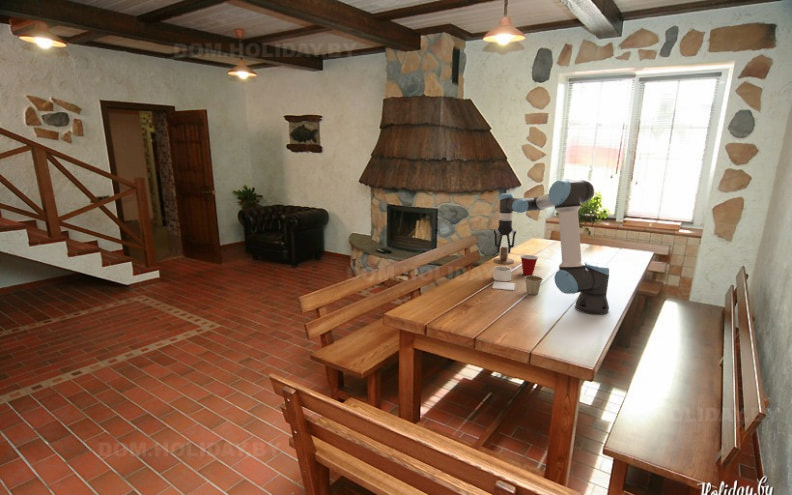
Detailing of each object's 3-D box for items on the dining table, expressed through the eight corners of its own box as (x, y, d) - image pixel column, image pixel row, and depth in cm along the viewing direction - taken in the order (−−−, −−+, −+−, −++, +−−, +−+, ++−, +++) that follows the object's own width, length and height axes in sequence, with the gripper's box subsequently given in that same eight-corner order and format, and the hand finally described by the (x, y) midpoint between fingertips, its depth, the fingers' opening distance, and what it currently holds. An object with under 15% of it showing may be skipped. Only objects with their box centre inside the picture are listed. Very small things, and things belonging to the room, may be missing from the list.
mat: (515, 284, 245) (515, 283, 245) (514, 290, 234) (514, 289, 234) (494, 282, 248) (494, 281, 248) (492, 288, 237) (492, 287, 237)
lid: (514, 260, 255) (515, 245, 253) (513, 265, 244) (514, 250, 242) (494, 259, 259) (494, 244, 257) (492, 264, 248) (493, 249, 246)
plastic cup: (539, 273, 264) (540, 255, 262) (534, 278, 256) (535, 259, 253) (522, 270, 270) (523, 253, 267) (516, 275, 262) (518, 256, 259)
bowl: (511, 277, 258) (511, 266, 256) (510, 282, 248) (511, 271, 247) (494, 275, 261) (494, 265, 259) (492, 280, 251) (493, 270, 250)
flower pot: (544, 292, 230) (545, 278, 228) (536, 297, 224) (538, 282, 221) (528, 289, 236) (529, 274, 234) (520, 293, 230) (521, 278, 228)
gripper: (520, 219, 247) (518, 257, 252) (491, 218, 252) (490, 255, 257) (520, 221, 240) (517, 260, 245) (490, 220, 245) (489, 258, 250)
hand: (503, 258), depth 251 cm, fingers closed on lid, 4 cm apart
